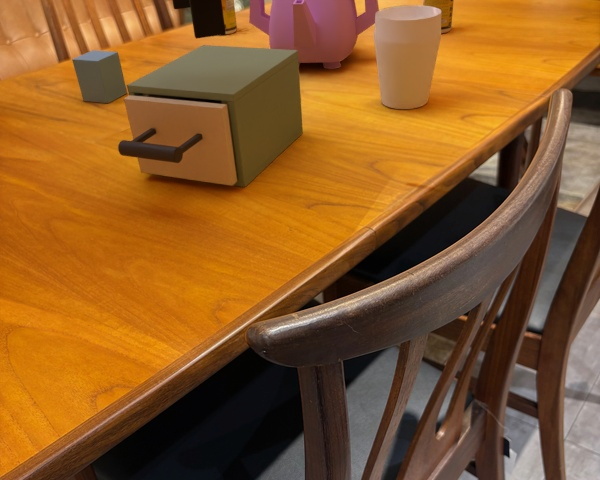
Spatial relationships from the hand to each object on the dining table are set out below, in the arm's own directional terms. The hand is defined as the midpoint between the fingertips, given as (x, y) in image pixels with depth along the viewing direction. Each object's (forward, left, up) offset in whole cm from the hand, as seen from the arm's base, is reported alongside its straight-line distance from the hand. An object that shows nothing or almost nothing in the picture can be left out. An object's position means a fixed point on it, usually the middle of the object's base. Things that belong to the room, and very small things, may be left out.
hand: (197, 20), depth 60 cm
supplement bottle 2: (+8, +71, -18) cm, 74 cm away
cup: (+13, +31, -18) cm, 38 cm away
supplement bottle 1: (-35, +63, -18) cm, 74 cm away
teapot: (-8, +48, -18) cm, 52 cm away
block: (-34, +22, -18) cm, 44 cm away
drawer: (-4, +3, -17) cm, 17 cm away
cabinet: (-4, +8, -18) cm, 20 cm away
